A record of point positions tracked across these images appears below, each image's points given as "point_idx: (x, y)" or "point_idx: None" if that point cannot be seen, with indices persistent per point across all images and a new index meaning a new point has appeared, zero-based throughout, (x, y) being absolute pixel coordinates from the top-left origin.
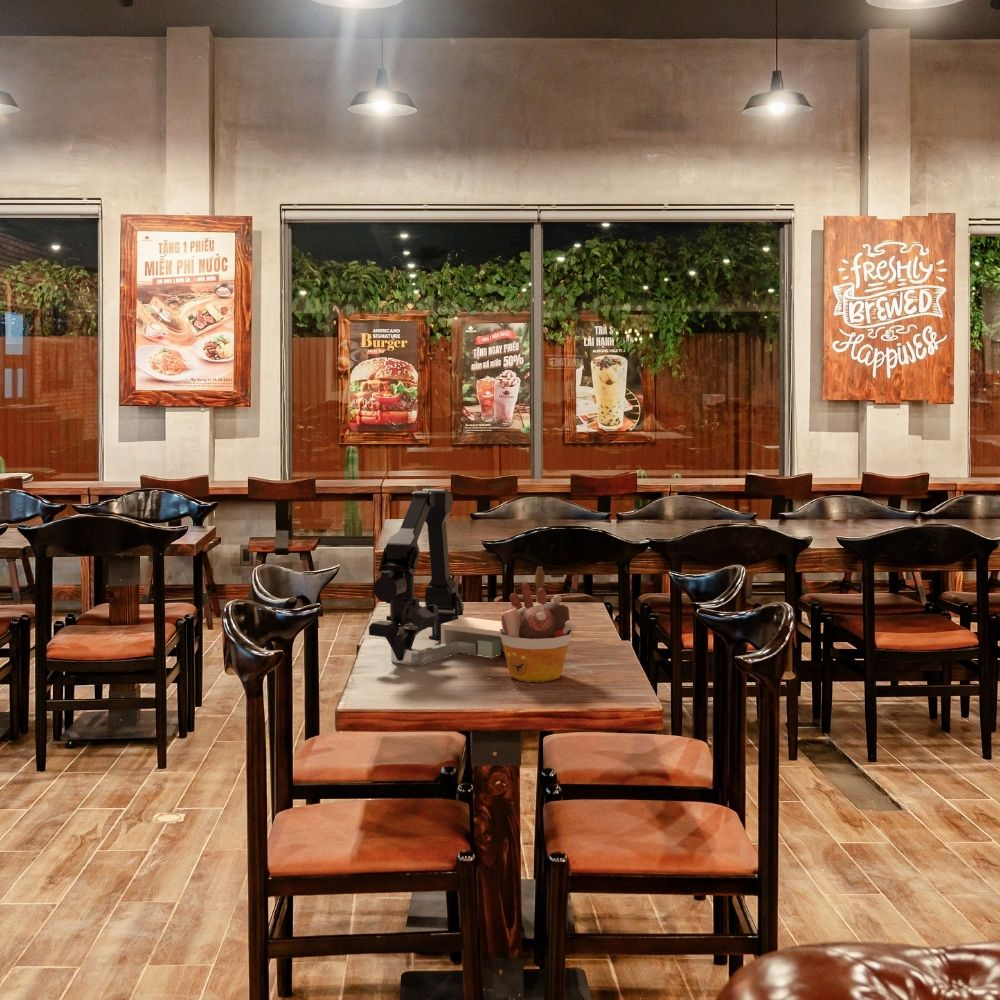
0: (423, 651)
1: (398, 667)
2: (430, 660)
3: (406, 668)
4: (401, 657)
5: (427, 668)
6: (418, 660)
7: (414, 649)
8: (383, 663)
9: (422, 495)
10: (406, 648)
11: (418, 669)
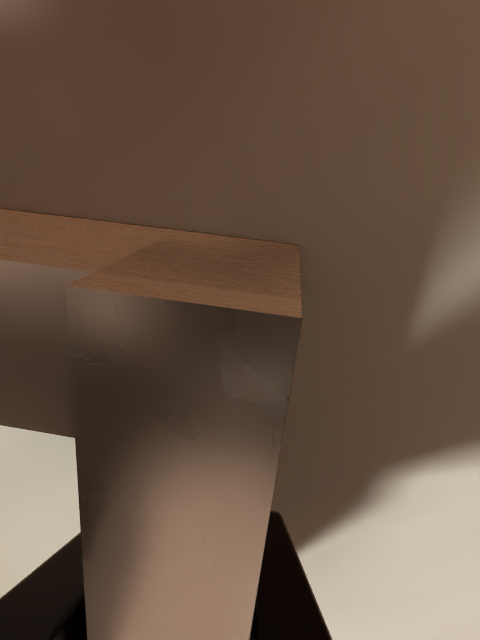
0: (34, 304)
1: (434, 443)
2: (5, 214)
3: (454, 334)
4: (284, 543)
5: (341, 35)
6: (284, 261)
7: (131, 492)
8: None
9: None
10: (146, 637)
11: (460, 139)
